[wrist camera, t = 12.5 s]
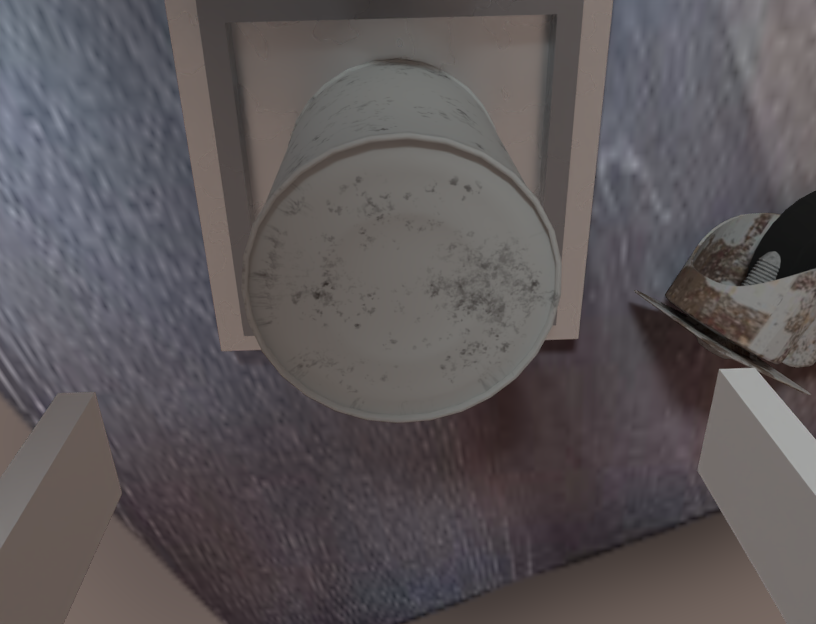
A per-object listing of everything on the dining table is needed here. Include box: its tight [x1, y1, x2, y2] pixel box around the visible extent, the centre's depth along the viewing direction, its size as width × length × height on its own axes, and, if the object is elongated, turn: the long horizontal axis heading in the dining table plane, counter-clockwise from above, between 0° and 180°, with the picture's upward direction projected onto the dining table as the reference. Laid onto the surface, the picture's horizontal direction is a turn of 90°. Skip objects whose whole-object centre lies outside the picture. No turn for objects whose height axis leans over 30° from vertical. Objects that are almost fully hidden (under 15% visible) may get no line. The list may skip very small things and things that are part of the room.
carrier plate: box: [165, 0, 613, 351], centre depth 30 cm, size 24×18×6 cm
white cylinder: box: [241, 59, 562, 423], centre depth 27 cm, size 10×10×12 cm
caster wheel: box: [634, 191, 816, 395], centre depth 35 cm, size 7×11×10 cm
